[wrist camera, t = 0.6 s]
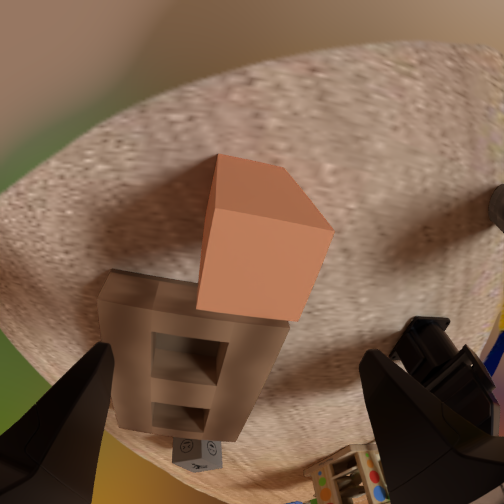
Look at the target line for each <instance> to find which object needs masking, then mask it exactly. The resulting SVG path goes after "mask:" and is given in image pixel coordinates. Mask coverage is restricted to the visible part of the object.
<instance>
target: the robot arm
mask: <svg viewBox="0 0 504 504" xmlns="http://www.w3.org/2000/svg"><path fill="white" fill-rule="evenodd" d="M449 324H450V320H449V318H435V317H415V318H414V319H413V321H412V322H411V324H410V325H409V327H408V328H407V330H406V332H405V333H404V335H403V336H402V338H401V339H400V341H399V342H398V344H397V345H396V346H395V348H394V349H393V351H392V352H391V354H390V355H389V358H390V359H389V358H388V357H387V356H386V355H385V354H383V353H382V352H381V351H380V350H378V349H370V350H367V351H366V353H365V355H364V357H363V358H362V360H361V362H360V364H359V372H360V378H361V383H362V389H363V394H364V400H365V404H366V408H367V412H368V415H369V419H370V422H371V426H372V429H373V433H374V437H375V441H376V444H377V448H378V452H379V456H380V460H381V464H382V468H383V472H384V476H385V480H386V485H387V489H388V492H389V493H388V494H389V498H390V503H391V504H504V437H499V435H498V434H499V421H500V405H499V403H498V401H497V399H496V398H495V396H494V394H493V393H492V390H494V389H495V388H496V386H495V384H494V382H493V380H492V378H491V376H490V375H489V373H488V371H487V369H486V367H485V366H484V364H483V363H482V362H481V360H480V359H479V357H478V356H477V355H476V354H475V353H474V352H473V351H472V350H471V349H470V348H469V347H468V346H467V345H466V344H465V345H464V346H463V347H462V349H461V350H460V351H458V350H457V348H456V347H455V345H454V344H453V342H452V341H451V340H450V338H449V337H448V335H447V334H446V333H445V330H446V328H447V327H448V325H449ZM392 360H401V362H402V363H403V365H404V367H405V369H406V371H407V372H405V371H404V370H403V369H402V368H400V367H399V366H398V365H397V364H396V363H394V362H393V361H392ZM472 364H473V366H472V367H471V365H472ZM114 366H115V359H114V355H113V352H112V348H111V345H110V344H109V343H106V342H98V343H96V344H95V345H94V346H93V347H92V348H91V349H90V350H89V351H88V352H87V353H86V354H85V355H84V356H83V357H82V358H81V359H80V360H79V361H78V362H77V363H76V364H74V365H73V366H72V367H71V368H70V369H69V370H68V371H67V372H66V373H65V374H64V375H63V376H62V377H61V378H60V379H59V380H58V381H57V382H56V383H55V384H54V385H53V386H52V387H51V388H50V389H49V390H48V391H47V392H46V393H45V394H44V395H43V396H42V397H41V398H40V399H39V400H38V402H36V404H34V405H33V406H32V407H31V409H29V411H28V412H27V413H25V415H23V416H22V417H21V418H20V420H18V421H17V422H16V423H15V424H13V425H12V426H11V427H10V428H9V429H8V430H6V431H5V432H4V433H3V434H2V435H0V504H91V502H92V494H93V487H94V481H95V474H96V468H97V463H98V456H99V452H100V446H101V441H102V436H103V431H104V427H105V422H106V418H107V413H108V409H109V404H110V397H111V389H112V381H113V373H114Z"/></svg>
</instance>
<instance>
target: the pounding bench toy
mask: <svg viewBox="0 0 504 504" xmlns="http://www.w3.org/2000/svg"><path fill="white" fill-rule="evenodd" d="M303 473H304V477H312V481H313V486H314V490H315V494H314V495H313V496H314V497H316V499H317V503H318V504H353V500H352V498H358V497H360V496H362V495H364V494H366V496H367V500H368V503H369V504H391V503H390V498H389V494H388V493H389V492H388V489H387V485H386V480H385V476H384V472H383V468H382V464H381V460H380V456H379V452H378V448H377V444H374V445H349V446H347V447H345V448H344V449H342V450H340V451H339V452H337V453H335V454H333V455H332V456H330V457H328V458H326V459H324V460H322V461H321V462H319V463H317V464H315V465H313V466H311V467H309V468H307V469H305V470H304V471H303ZM350 473H353V474H350ZM348 474H350V476H346V475H348ZM361 482H363V486H358V485H359V484H360V483H361Z"/></svg>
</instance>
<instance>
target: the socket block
mask: <svg viewBox="0 0 504 504" xmlns="http://www.w3.org/2000/svg"><path fill="white" fill-rule="evenodd" d="M197 292H198V283H192V282H186V281H180V280H174V279H168V278H162V277H156V276H150V275H144V274H139V273H133V272H127V271H122V270H117V269H112V270H111V272H110V274H109V276H108V278H107V279H106V281H105V283H104V285H103V287H102V289H101V291H100V293H99V296H98V298H97V309H98V318H99V327H100V334H101V342H106V343H109V344H110V345H111V348H112V352H113V355H114V359H115V366H114V373H113V381H112V389H111V397H112V402H113V406H114V410H115V415H116V419H117V423H118V426H119V428H123V429H128V430H133V431H139V432H144V433H150V434H157V435H163V436H171V437H179V438H188V439H198V440H210V441H226V442H236V440H237V438H238V436H239V434H240V432H241V430H242V429H243V427H244V425H245V423H246V421H247V419H248V417H249V415H250V413H251V411H252V409H253V407H254V405H255V403H256V401H257V399H258V397H259V395H260V392H261V390H262V388H263V386H264V384H265V382H266V380H267V378H268V376H269V374H270V371H271V369H272V367H273V365H274V363H275V361H276V358H277V356H278V354H279V352H280V350H281V347H282V345H283V343H284V341H285V338H286V336H287V334H288V332H289V329H290V326H289V323H288V321H286V320H277V319H267V318H259V317H250V316H242V315H234V314H226V313H219V312H212V311H205V310H198V309H196V304H197Z"/></svg>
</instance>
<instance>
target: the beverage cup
mask: <svg viewBox="0 0 504 504" xmlns="http://www.w3.org/2000/svg"><path fill="white" fill-rule="evenodd" d="M489 217H490V220H491V221H492V222H493V223H494V224H496V226H497V227H498V228H499V229H500V230H501V231H502V232H503V233H504V184H502V185H500V186H498V188H497V189H496V190H495V191H494V193H493V195H492V197H491V200H490V203H489Z"/></svg>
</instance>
